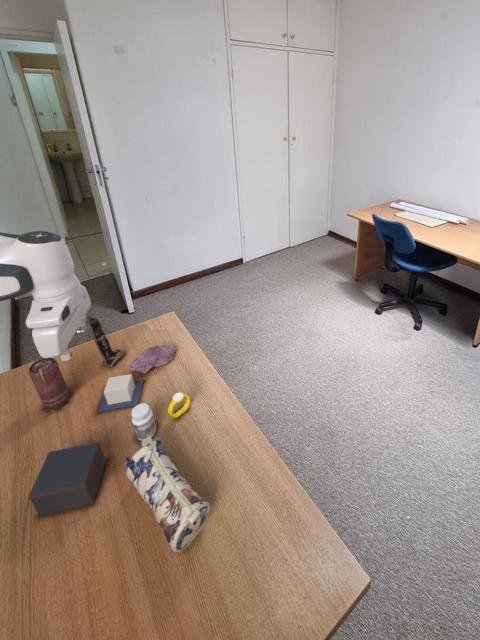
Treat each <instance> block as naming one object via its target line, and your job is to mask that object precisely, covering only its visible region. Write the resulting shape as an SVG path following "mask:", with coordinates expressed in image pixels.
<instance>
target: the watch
mask: <svg viewBox="0 0 480 640" xmlns="http://www.w3.org/2000/svg"><path fill="white" fill-rule="evenodd" d="M184 398H185V399H186V400H185V403H184V405H183V406H182V407H181V408H180V409H179V410H178V411H176V412H175V413H173V409H174V407H175V406H176V404H180V403H181V402H183V400H184ZM190 405H191V397H190V396H189V395H188V394H187V393H185V392H176V393H174V395H173V396H172V400H171V402H170V403H169V405H168V408H167V413H168V414H169V416H171V418H175V419H176V418H179V417H180V416H181V415H183V414H184V413H185V412H187V410H188V408H189V407H190Z"/></svg>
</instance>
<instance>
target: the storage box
mask: <svg viewBox="0 0 480 640" xmlns="http://www.w3.org/2000/svg"><path fill="white" fill-rule="evenodd" d="M101 447H102V446H101V443H100V441H98V442H97V441H96V442H92V443H87V444H82V445H76V446H72V447H66V448H62V449H57V450H51V451H49V452H48V453H47V456H46V457H45V460H44V462H43V464H42V467H41V468H40V470H39V473H38V475H37V477H36V479H35V481H34V482H33V485H32V488H31V489H30V492H29V494H28V497H27V499H28V501H30V502H31V504H32V505H33V507H34V508H35V510H36V512H37V514H38V516H39V517H41V516H46V515H51V514H55V513H59V512H63V511H69V510H72V509H76V508H82V507H85V506H90V505H94V502H95V500H96V495H97V493H98V490H99V486H100V482H101V479H102V476H103V473H104V469H105V466H106V462H107V459H106V458H105V454H104V452H103V450H102V448H101Z"/></svg>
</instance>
